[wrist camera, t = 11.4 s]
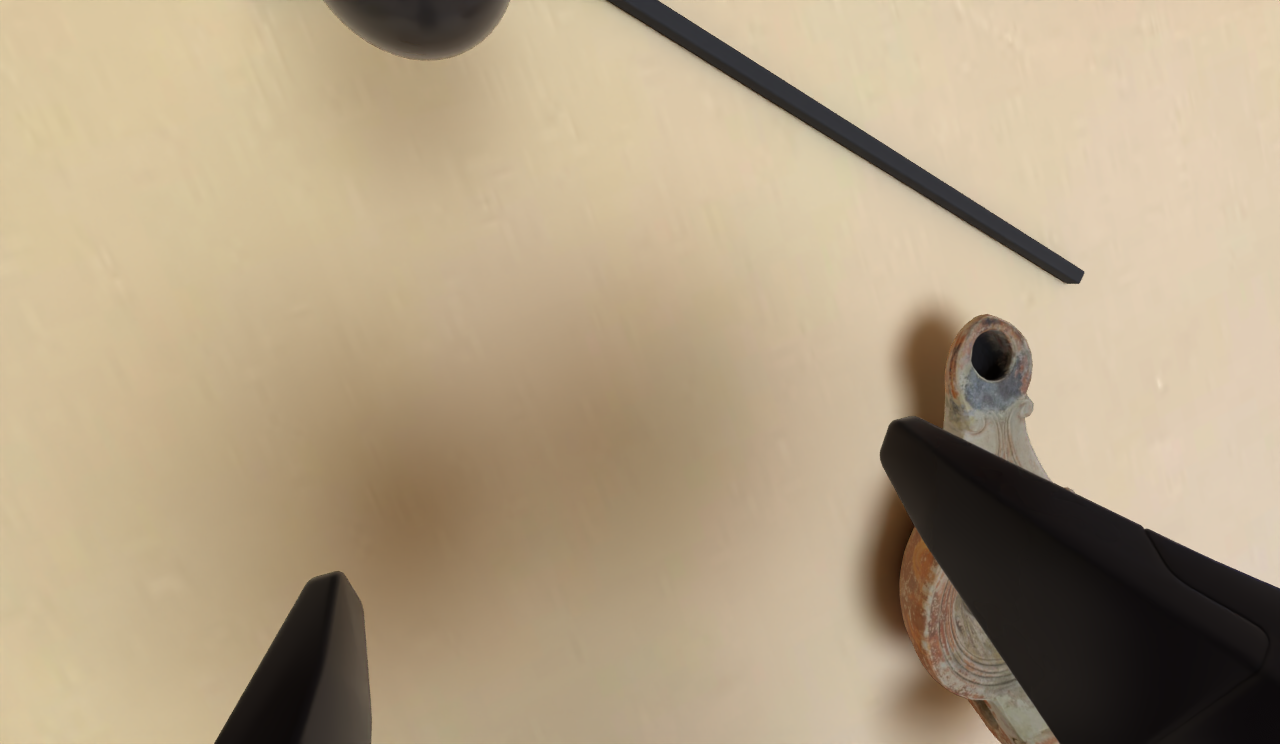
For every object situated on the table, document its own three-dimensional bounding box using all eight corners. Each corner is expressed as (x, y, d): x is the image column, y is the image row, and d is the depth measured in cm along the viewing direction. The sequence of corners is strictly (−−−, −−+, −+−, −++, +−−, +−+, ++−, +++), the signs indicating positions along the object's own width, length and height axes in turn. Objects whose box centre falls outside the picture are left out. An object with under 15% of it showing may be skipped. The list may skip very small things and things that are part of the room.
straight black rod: (1072, 271, 27) (1085, 271, 26) (1066, 284, 27) (1080, 284, 26) (553, -56, 19) (556, -66, 18) (545, -37, 19) (548, -47, 18)
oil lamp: (878, 779, 28) (1091, 1038, 19) (843, 327, 24) (1100, 365, 14) (1024, 715, 30) (1282, 918, 21) (1017, 291, 26) (1340, 303, 16)
